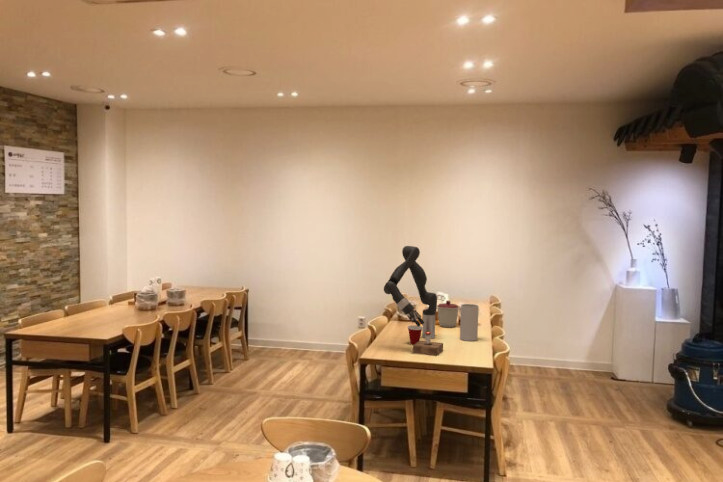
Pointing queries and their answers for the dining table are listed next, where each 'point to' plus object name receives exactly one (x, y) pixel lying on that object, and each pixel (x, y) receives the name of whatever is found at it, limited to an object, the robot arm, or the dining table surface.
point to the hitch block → (428, 348)
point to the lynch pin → (427, 337)
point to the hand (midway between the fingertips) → (421, 324)
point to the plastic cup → (414, 333)
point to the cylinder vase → (469, 322)
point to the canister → (447, 314)
